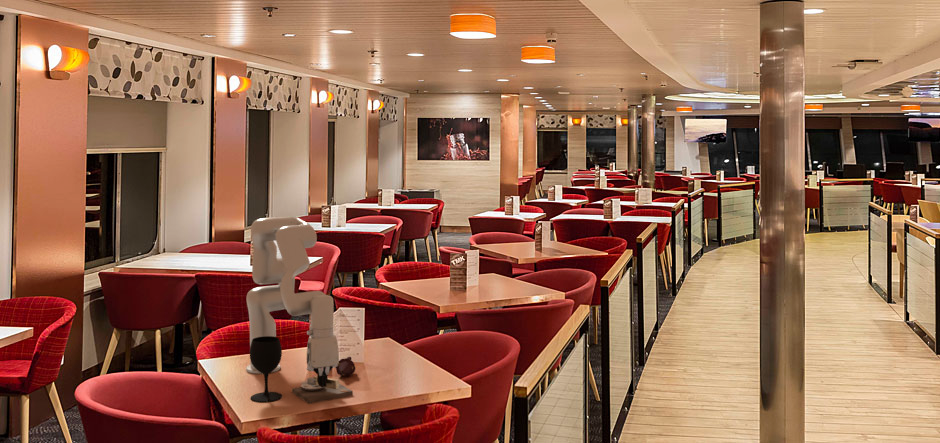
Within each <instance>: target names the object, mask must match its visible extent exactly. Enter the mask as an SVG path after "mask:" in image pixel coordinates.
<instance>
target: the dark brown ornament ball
mask: <svg viewBox="0 0 940 443" xmlns="http://www.w3.org/2000/svg"><path fill="white" fill-rule="evenodd" d="M335 369H336V374H338V375H339V376H341V377H343V378H346V377H347V378H348V377H351V376H352V375H353V374H354V373H355V372H356V366H355V363H354V362H353V361H352V356H347V357H346V358H341V359H339V363H338V366H337V367H335Z"/></svg>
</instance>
